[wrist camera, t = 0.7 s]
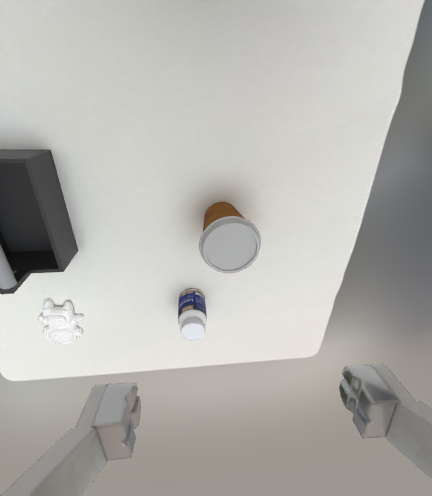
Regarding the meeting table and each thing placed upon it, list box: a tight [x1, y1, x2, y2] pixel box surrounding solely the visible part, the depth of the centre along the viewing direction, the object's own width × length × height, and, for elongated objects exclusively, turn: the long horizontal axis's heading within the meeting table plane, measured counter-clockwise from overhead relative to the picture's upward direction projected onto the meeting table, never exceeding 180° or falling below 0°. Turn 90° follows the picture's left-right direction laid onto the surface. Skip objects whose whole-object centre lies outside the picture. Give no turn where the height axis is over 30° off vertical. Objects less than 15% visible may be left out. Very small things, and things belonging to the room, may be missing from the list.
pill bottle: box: [178, 289, 207, 340], centre depth 54 cm, size 6×6×10 cm
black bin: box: [0, 150, 78, 294], centre depth 39 cm, size 18×12×12 cm, turn 179°
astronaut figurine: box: [38, 299, 83, 344], centre depth 55 cm, size 9×12×3 cm
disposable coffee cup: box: [199, 202, 261, 273], centre depth 44 cm, size 10×10×12 cm
